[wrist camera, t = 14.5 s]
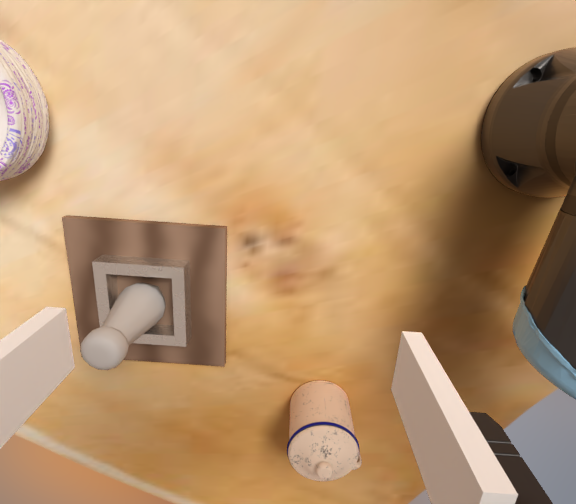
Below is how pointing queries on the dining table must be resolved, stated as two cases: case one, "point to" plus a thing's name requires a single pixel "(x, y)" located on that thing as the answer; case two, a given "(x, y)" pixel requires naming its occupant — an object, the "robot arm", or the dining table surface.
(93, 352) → the salt shaker
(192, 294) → the walnut board
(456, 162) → the dining table surface
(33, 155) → the paper bowls
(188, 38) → the dining table surface
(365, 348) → the dining table surface
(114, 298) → the metal collar
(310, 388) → the teacup with lid
